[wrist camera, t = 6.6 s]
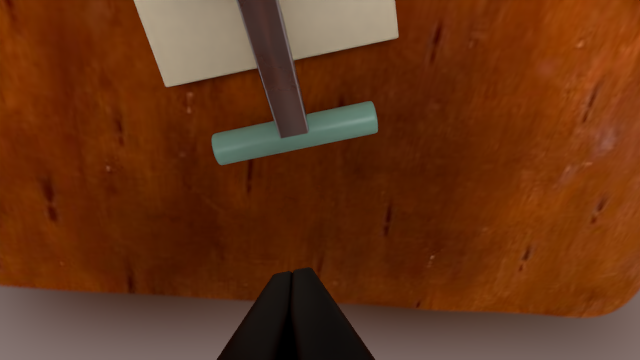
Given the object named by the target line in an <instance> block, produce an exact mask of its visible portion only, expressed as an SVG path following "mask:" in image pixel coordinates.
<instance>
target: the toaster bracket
mask: <svg viewBox="0 0 640 360" xmlns="http://www.w3.org/2000/svg"><path fill="white" fill-rule="evenodd" d="M134 2H135V5H136V8H137V11H138V13H139V16H140V19H141V21H142V24H143V27H144V30H145V32H146V35H147V38H148V40H149V43H150V46H151V49H152V51H153V54H154V57H155V59H156V62H157V65H158V68H159V70H160V73H161V76H162V78H163V81H164V84H165V86H166V87H172V86H176V85H181V84H186V83H190V82H195V81H200V80H204V79H209V78H214V77H218V76H223V75H228V74H233V73H237V72H242V71H247V70H251V69H256V68H257V65H256V62H255V59H254V55H253V52H252V49H251V46H250V43H249V40H248V37H247V33H246V30H245V27H244V24H243V21H242V18H241V14H240V11H239V8H238V5H237V2H236V0H134ZM280 3H281V7H282V12H283V16H284V20H285V25H286V29H287V33H288V37H289V42H290V46H291V50H292V55H293V59H294V60H298V59H303V58H307V57H312V56H317V55H321V54H326V53H331V52H335V51H340V50H345V49H349V48H354V47H359V46H364V45H368V44H373V43H378V42H382V41H387V40H392V39H396V38H398V36H399V35H398V25H397V16H396V6H395V0H280Z"/></svg>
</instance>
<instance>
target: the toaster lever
mask: <svg viewBox="0 0 640 360" xmlns="http://www.w3.org/2000/svg"><path fill="white" fill-rule="evenodd" d="M236 2H237V5H238V8H239V11H240V14H241V18H242V21H243V24H244V27H245V30H246V33H247V37H248V40H249V43H250V46H251V49H252V52H253V55H254V59H255V62H256V65H257V68H258V71H259V74H260V78H261V81H262V84H263V87H264V90H265V93H266V97H267V100H268V103H269V106H270V109H271V112H272V115H273V119H274V121H272V122H267V123H262V124H257V125H253V126H248V127H243V128H238V129H234V130H229V131H224V132H219V133H215V134H213V135H212V148H213V152H214V156H215V158H216V160H217V162H218V163H219V164H220V165H225V164H230V163H235V162H239V161H244V160H249V159H254V158H259V157H264V156H268V155H273V154H278V153H283V152H288V151H292V150H297V149H302V148H307V147H312V146H317V145H321V144H326V143H331V142H336V141H341V140H346V139H350V138H355V137H360V136H365V135H370V134H375V133H377V132H378V121H377V115H376V111H375V107H374V104H373V103H372V101H367V102H362V103H358V104H353V105H348V106H343V107H339V108H334V109H329V110H324V111H319V112H315V113H310V114H306V110H305V106H304V102H303V97H302V93H301V89H300V84H299V80H298V76H297V72H296V67H295V63H294V59H293V55H292V50H291V46H290V42H289V37H288V33H287V29H286V25H285V20H284V16H283V12H282V7H281V3H280V0H236Z"/></svg>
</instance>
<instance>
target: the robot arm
mask: <svg viewBox="0 0 640 360" xmlns="http://www.w3.org/2000/svg"><path fill="white" fill-rule="evenodd" d="M217 360H375V359H374V357H373V356H372V354H371V353H370V351H369V350H368V349H367V347H366V346H365V344H364V343H363V341H362V340H361V338H360V337H359V335H358V334H357V333H356V331H355V330H354V328H353V327H352V325H351V324H350V323H349V321H348V320H347V318H346V317H345V315H344V314H343V313H342V311H341V310H340V308H339V307H338V305H337V304H336V302H335V301H334V299H333V298H332V297H331V295H330V294H329V292H328V291H327V289H326V288H325V287H324V285H323V284H322V282H321V281H320V279H319V278H318V276H317V275H316V274H315V272H314V271H313V269H312V268H310V267H307V268H302V269H297V270H294V271H293V273H292V272H291V271H287V272H282V273H277V274H274V275H273V276H272V277H271V279H270V280H269V282H268V283H267V285H266V286H265V288H264V289H263V291H262V292H261V294H260V295H259V297H258V298H257V300H256V301H255V303H254V304H253V306H252V307H251V309H250V310H249V312H248V313H247V315H246V316H245V318H244V320H243V321H242V323H241V324H240V325H239V327H238V328H237V330H236V331H235V333H234V334H233V336H232V338H231V339H230V340H229V342H228V343H227V345H226V346H225V348H224V349H223V351H222V353H221V354H220V355H219V357H218V358H217Z"/></svg>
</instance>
